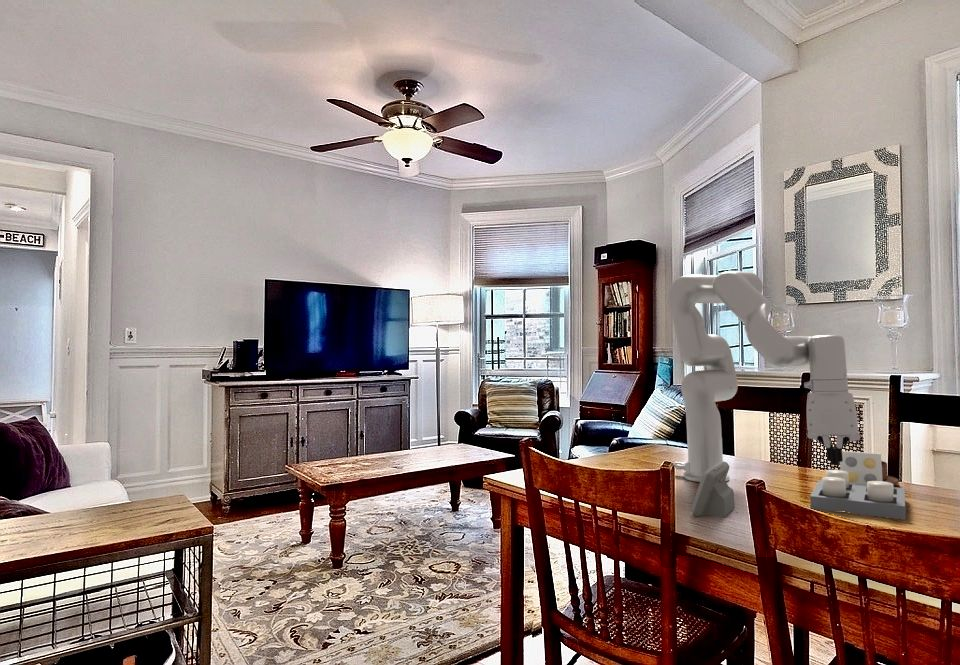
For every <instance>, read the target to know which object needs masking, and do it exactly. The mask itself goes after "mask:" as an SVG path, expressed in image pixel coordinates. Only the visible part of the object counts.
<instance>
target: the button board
mask: <svg viewBox="0 0 960 665" xmlns="http://www.w3.org/2000/svg"><path fill="white" fill-rule="evenodd" d="M893 487H894V494H893V501H891V502H881V501H874V500H870V499H868V494H867V485H864V484H854V483H849V487H848V488H846V496H843V497H834V496H828V495H824V494H823V493H822V479H821V480H818V481H817V483H816V484H815V486H814V489H813V490H812V492H811V494H810V495H809V500H810V503H809V504H810V509H811V508H812V509H811V510H818V511H825V512H832V513H833V512H834V513H836V512H835V511H845V512H850V513H855V514H854V515H857V514H859V515H858V516H867V517H874V516H877V517H876V518H882V517H888V518H887V519H891V518H894V519H893V520H899V519H901V520H900V521H907V516H906V512H907V511H906V490H905V487H897V486H893Z"/></svg>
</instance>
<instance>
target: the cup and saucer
mask: <svg viewBox="0 0 960 665" xmlns="http://www.w3.org/2000/svg"><path fill="white" fill-rule="evenodd" d="M881 462H882V480H883V482H889V483H892V484H893V486H895V485H897V484H899V479H898V478H897V477H894V476H892V475H891V476H890V475H888V463H887V462H886V461H883V460H881Z"/></svg>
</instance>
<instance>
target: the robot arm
mask: <svg viewBox="0 0 960 665" xmlns="http://www.w3.org/2000/svg"><path fill="white" fill-rule="evenodd" d="M669 287H670V288H669V289H668V293H667V305H668V309H669V312H670V316H671V318H672V322H673V327H674V332H675V337H676V341H677V346H678V351H679V355H680V356H679V357H680V360H681V361H682V363H683V364H684V365H686V366H689V367H705V368H706V369H702V370H695V371H691V372H689V373H687V374H686V375H685V376H684V377H683V378H682V382H681V384H680V385H681V386H680V387H681V388H680V389H681V390H680V391H681V394H682V398H683V403H684V409H685V418H686V419H685V423H686V441H687V461H685V462H681V461H675V462H674V465H675V466H674V465H673V466H674V469H676V470H683V471H684V472H683V479H685V480H688V481H690V482H695V483H696V482H697V483H700V481H701V478H702V476H703V473H704V472H705V471H707V470H708V469H710V468H711V467H713V466H714V465H716V464H717V463H719V462H723V461H724V458H723V457H724V456H723V437H722V419H721V414H720V411H719V409H718V407H717V404H716V402H722V401H727V400H731V399H733V397H735V395H736V394H737V393H738V388H739V387H738V386H739V383H738V376H737V371H736V367H735V363H734V358H733V355H732V354H733V353H732V349H731V346H730V345H729V343H728V341H727V340H726V339H725V337H723V336H721V335H718V334H714V333H712V334H710V333H709V334H708V333H707V330H706V327H705V321H704V318H703V315H702V314H701V312H700V311H699V310H698V308H697V307H696V304H724V305H725V307H727V308H728V309H729V310H730V311H731V313H733V314H734V316H736V317H737V318H738V319H739V320H740V321H741V323H743V325H744V331H745V335H746V337H747V340H748V342H749V343H750V345H751V346H752V347H753V349H754V350H755V351H757V353H758V354H759V355H760V356H761V357H762V358H763V359H764V360H766V361H767V363H769V364H771V365H772V366H775V367H779V368H787V367H789V368H790V367H802V366H803V367H804V366H809V374H810V375H809V376H810V379H809V381H807V382H806V381H804V383H803V387H804V388H806V389H809V390H810V391H811V392H808V393H807V396H806V397H807V399H806V428H807V435H806V436H807V438H808V439H811V440H815V441H818V442H819V443H821V445H823V446H824V447H825V449H826V458H827V459H826V460H827V462H828V461H829V462H830V466H838V467H840V462H842V461H843V458H842V451H843V447H844V446H845V445H846V444H847V443H849V442H857V441H859V440H860V439H861V435H860V433H859V423H858V422H859V420H858V415H857V414H858V413H857V408H856V403H855V399H854V396H853V395H854V394H853V392H851V391H849V384H848V383H849V382H848V370H847V359H846V358H847V357H846V356H847V355H846V346H845V339H844V337H843V336H841V335H839V334H825V335H824V334H823V335H813V336H808V335H807V336H806V335H797V336H796V335H791V336H790V335H786V336H784V335H782V333H780V332H779V331H778V329H776V328H775V327H774V325H772V324H771V322H770V321H769V319H768V317H769V315H770V314H771V312H772V311H773V310H772V309H773V304H772V303H771V301H770V300H769V299H768V298H767V297H766V296H764V295H763V294H762V292H763V289H764V288H763V282H762V279H761V278H760V277H759V276H758V275H757V274H755V272H754V273H753V272H750V271H742V270H741V271H739V270H728V271H727V270H726V271H723V272H721V273H720V274H718V275H712V274H711V275H710V274H685V275H682V276H680V277H677V278H676V279H675V280H674V281H673V282H672V283H671V286H669ZM830 436H836V444H835V446H833V443H832V441H831V437H830ZM729 480H730V474H728V473H727V476H726V479H725V481H726V482H727V481H729Z"/></svg>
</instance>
